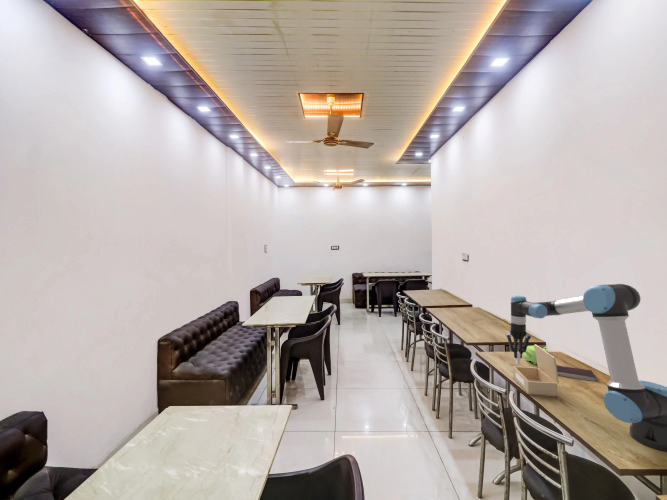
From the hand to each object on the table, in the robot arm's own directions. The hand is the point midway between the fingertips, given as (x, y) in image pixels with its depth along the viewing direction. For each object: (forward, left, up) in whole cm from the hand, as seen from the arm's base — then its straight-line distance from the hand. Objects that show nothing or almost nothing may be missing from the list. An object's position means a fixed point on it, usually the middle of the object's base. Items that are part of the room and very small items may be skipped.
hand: (517, 363), depth 183 cm
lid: (0, -14, +2) cm, 14 cm away
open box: (0, -8, -13) cm, 15 cm away
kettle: (+41, -26, -13) cm, 50 cm away
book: (+22, -40, -13) cm, 47 cm away
